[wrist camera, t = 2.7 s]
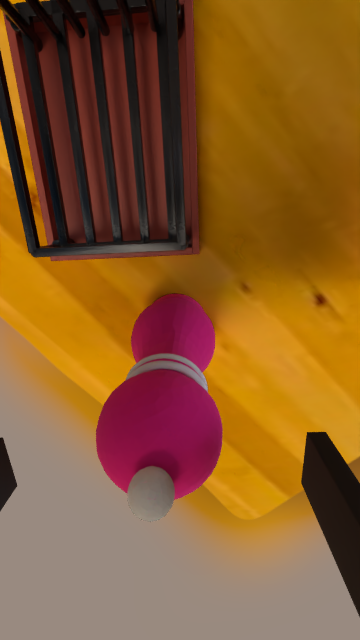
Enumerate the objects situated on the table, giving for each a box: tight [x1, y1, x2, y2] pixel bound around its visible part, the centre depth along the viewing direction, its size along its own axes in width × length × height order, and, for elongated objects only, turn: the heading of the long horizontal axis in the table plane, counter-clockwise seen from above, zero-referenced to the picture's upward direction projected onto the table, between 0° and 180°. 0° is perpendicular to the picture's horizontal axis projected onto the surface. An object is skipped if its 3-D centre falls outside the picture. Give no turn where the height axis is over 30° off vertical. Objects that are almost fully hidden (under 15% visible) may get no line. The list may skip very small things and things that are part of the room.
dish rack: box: [0, 0, 199, 261], centre depth 18 cm, size 17×13×12 cm
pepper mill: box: [96, 294, 222, 522], centre depth 19 cm, size 7×7×20 cm
